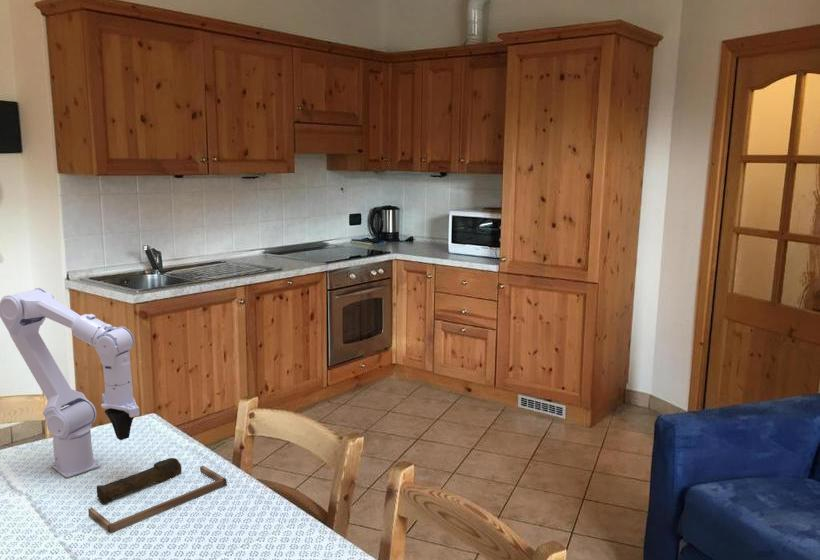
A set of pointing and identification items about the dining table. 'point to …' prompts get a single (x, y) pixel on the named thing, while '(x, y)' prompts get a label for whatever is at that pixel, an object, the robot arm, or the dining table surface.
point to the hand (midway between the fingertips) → (123, 438)
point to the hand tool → (139, 480)
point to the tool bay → (161, 507)
